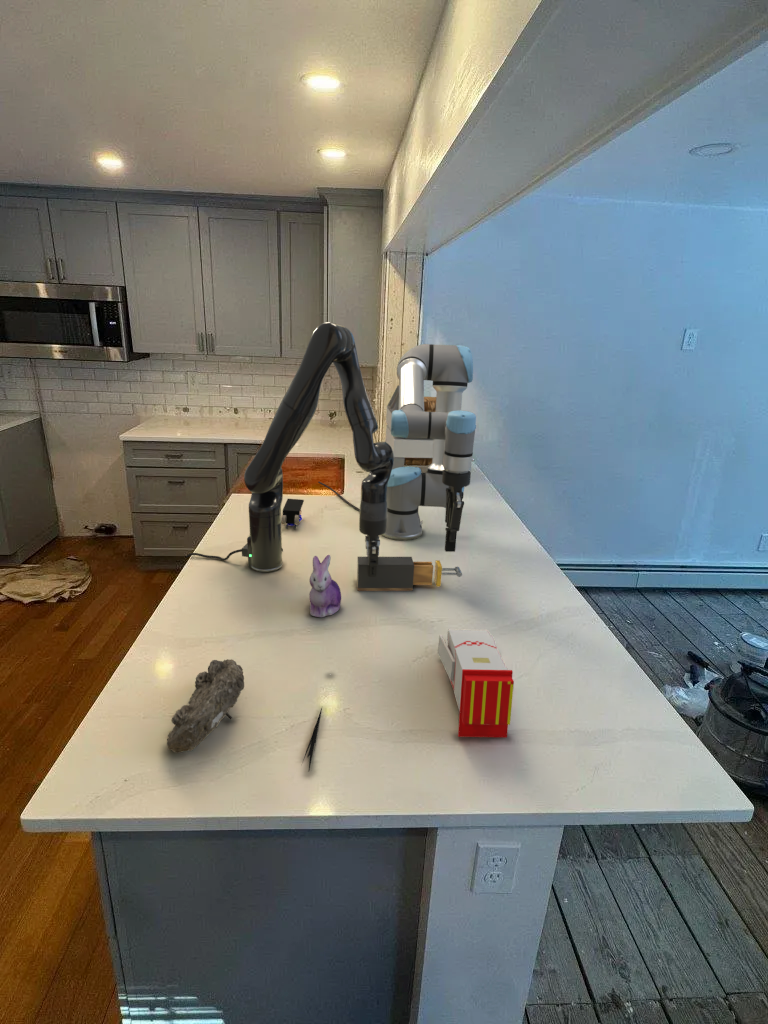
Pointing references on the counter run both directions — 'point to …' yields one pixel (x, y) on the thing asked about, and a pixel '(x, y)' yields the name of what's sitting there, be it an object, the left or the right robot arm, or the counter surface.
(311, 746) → the feather
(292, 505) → the figurine character
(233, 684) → the fossil
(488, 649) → the toy
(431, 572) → the drawer
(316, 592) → the figurine
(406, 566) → the dark grey box
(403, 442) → the transformer
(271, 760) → the counter surface
